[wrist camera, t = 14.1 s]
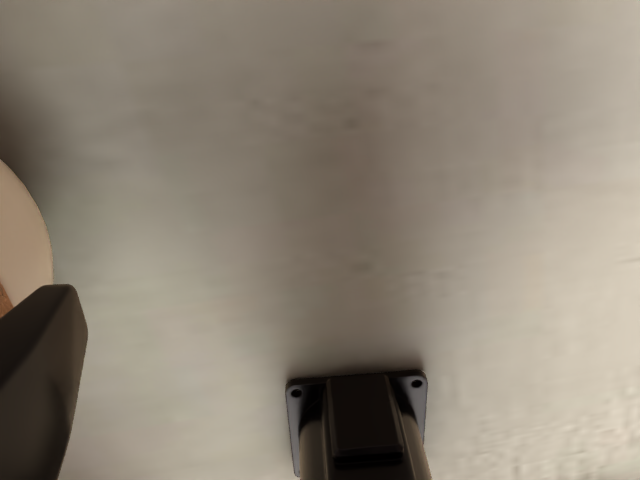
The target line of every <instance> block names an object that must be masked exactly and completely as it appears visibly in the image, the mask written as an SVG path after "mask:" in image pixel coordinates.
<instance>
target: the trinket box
mask: <svg viewBox="0 0 640 480" xmlns="http://www.w3.org/2000/svg"><path fill="white" fill-rule="evenodd" d="M53 279H54V270H53V255H52V247H51V242H50V238H49V234H48V230H47V227H46V224H45V222H44V220H43V218H42V215H41V213H40V211H39V208H38V207H37V205H36V203H35V201H34V200H33V198H32V196H31V195H30V193H29V192H28V190H27V189H26V187H25V185H24V184H23V183H22V182H21V181H20V179H19V178H18V177H17V176H16V175H15V173H14V172H13V171H12V170H11V169H10V168H9V167H8V166H7V165H6V164H5V163H4V162H3V161H2V160H1V159H0V318H1V317H2V316H4V315H5V314H6V313H7V312H9V311H10V310H11V309H12V308H14V307H15V306H16V305H17V304H19V303H20V302H21V301H22V300H24V299H25V298H26V297H27V296H29V295H30V294H31V293H33V292H34V291H35V290H36V289H38V288H39V287H41V286H43V285H53Z"/></svg>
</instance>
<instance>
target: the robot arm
mask: <svg viewBox="0 0 640 480" xmlns="http://www.w3.org/2000/svg"><path fill="white" fill-rule="evenodd" d="M87 340H88V329H87V323H86V320H85V317H84V314H83V310H82V307H81V304H80V300H79V297H78V294H77V291H76V289H75V288H74V287H73V286H72V285H70V284H53V285H43V286H41V287H39V288H38V289H36V290H35V291H34V292H33V293H31V294H30V295H29V296H27V297H26V298H25V299H24V300H22V301H21V302H20V303H19V304H17V305H16V306H15V307H14V308H12V309H11V310H10V311H9V312H7V313H6V314H5V315H4V316H2V317H1V318H0V480H58V476H59V473H60V470H61V467H62V463H63V460H64V457H65V453H66V450H67V446H68V442H69V439H70V434H71V429H72V424H73V419H74V414H75V408H76V402H77V397H78V391H79V385H80V380H81V374H82V369H83V363H84V357H85V352H86V346H87ZM414 380H418V381H416V382H413V381H414ZM427 385H428V382H427V378H426V375H425V373H424V372H423V371H421V370H404V371H392V372H379V373H366V374H354V375H341V376H328V377H315V378H303V379H294V380H291V381H289V382H288V383H287V384H286V403H287V412H288V421H289V430H290V439H291V448H292V457H293V466H294V473H295V475H296V476H297V477H300V480H432V477H431V473H430V469H429V465H428V462H427V458H426V454H425V450H424V446H423V444H424V429H425V415H426V400H427ZM296 389H298V390H299V391H293V390H296Z"/></svg>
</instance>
